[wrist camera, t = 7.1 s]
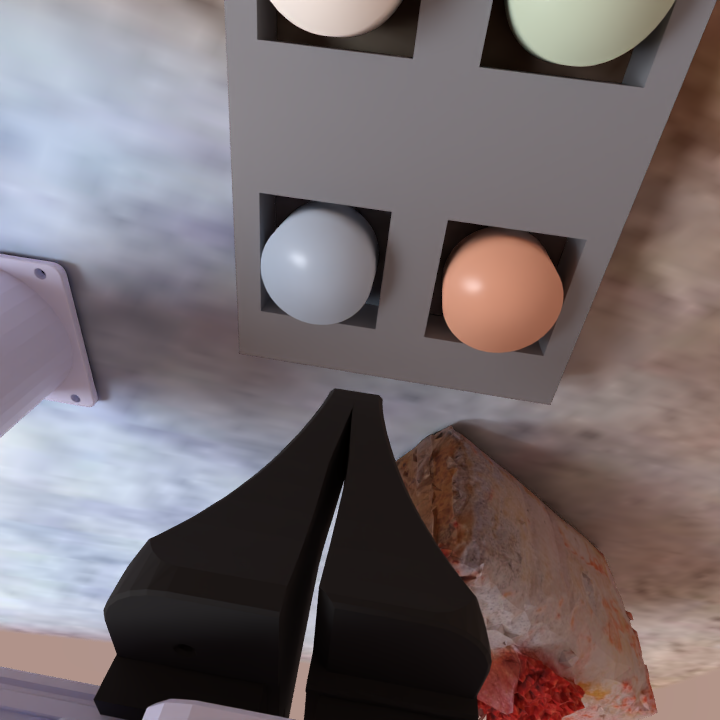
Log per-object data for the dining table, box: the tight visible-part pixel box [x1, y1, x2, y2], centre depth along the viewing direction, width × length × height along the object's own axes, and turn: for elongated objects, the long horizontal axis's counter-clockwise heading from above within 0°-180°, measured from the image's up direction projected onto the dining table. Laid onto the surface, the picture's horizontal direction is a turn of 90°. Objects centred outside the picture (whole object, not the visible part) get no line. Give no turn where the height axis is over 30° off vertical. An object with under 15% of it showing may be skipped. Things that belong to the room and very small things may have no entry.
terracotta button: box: [442, 226, 563, 353], centre depth 18 cm, size 4×4×2 cm
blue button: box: [261, 201, 379, 325], centre depth 18 cm, size 4×4×2 cm
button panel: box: [224, 0, 717, 405], centre depth 16 cm, size 13×18×2 cm
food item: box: [396, 425, 657, 720], centre depth 23 cm, size 14×8×10 cm, turn 48°
